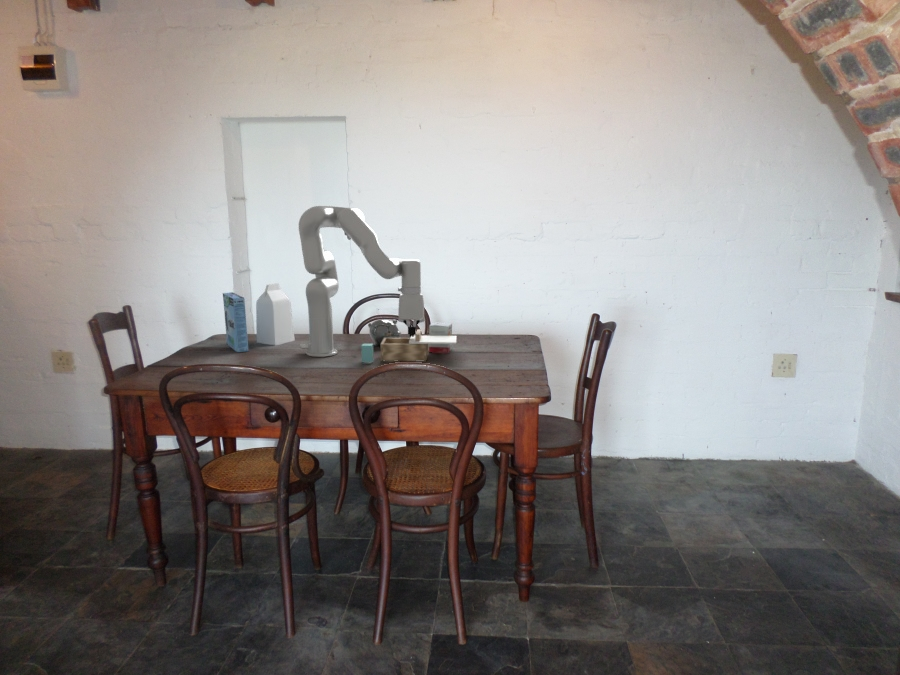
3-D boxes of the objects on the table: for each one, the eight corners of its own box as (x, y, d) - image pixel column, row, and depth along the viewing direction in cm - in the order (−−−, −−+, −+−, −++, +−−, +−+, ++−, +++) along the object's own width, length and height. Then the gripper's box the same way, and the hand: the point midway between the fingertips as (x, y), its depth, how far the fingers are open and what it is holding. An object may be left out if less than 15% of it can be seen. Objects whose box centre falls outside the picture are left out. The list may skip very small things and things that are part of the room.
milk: (275, 345, 276) (272, 286, 271) (256, 342, 282) (253, 284, 277) (294, 340, 287) (291, 283, 281) (276, 337, 292) (273, 281, 287)
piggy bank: (396, 349, 270) (395, 322, 268) (363, 346, 274) (363, 320, 272) (404, 343, 281) (404, 318, 278) (373, 341, 285) (373, 316, 282)
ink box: (448, 353, 262) (448, 325, 260) (428, 352, 264) (428, 325, 262) (452, 349, 271) (452, 322, 268) (433, 348, 272) (432, 321, 270)
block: (361, 363, 246) (361, 345, 245) (363, 360, 250) (363, 343, 249) (372, 363, 246) (371, 345, 245) (373, 360, 250) (373, 343, 249)
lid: (408, 343, 247) (408, 335, 246) (411, 337, 259) (411, 328, 259) (456, 344, 247) (456, 335, 246) (456, 337, 259) (456, 329, 258)
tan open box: (380, 361, 249) (380, 344, 248) (384, 354, 261) (384, 337, 259) (426, 361, 249) (426, 344, 247) (427, 354, 260) (427, 338, 259)
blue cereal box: (248, 351, 265) (245, 297, 260) (236, 352, 262) (232, 298, 258) (237, 342, 281) (234, 291, 276) (225, 344, 279) (222, 292, 274)
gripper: (391, 292, 246) (392, 338, 249) (429, 292, 245) (429, 338, 249) (393, 289, 253) (394, 334, 257) (430, 289, 253) (430, 334, 256)
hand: (411, 336), depth 253 cm, fingers closed
